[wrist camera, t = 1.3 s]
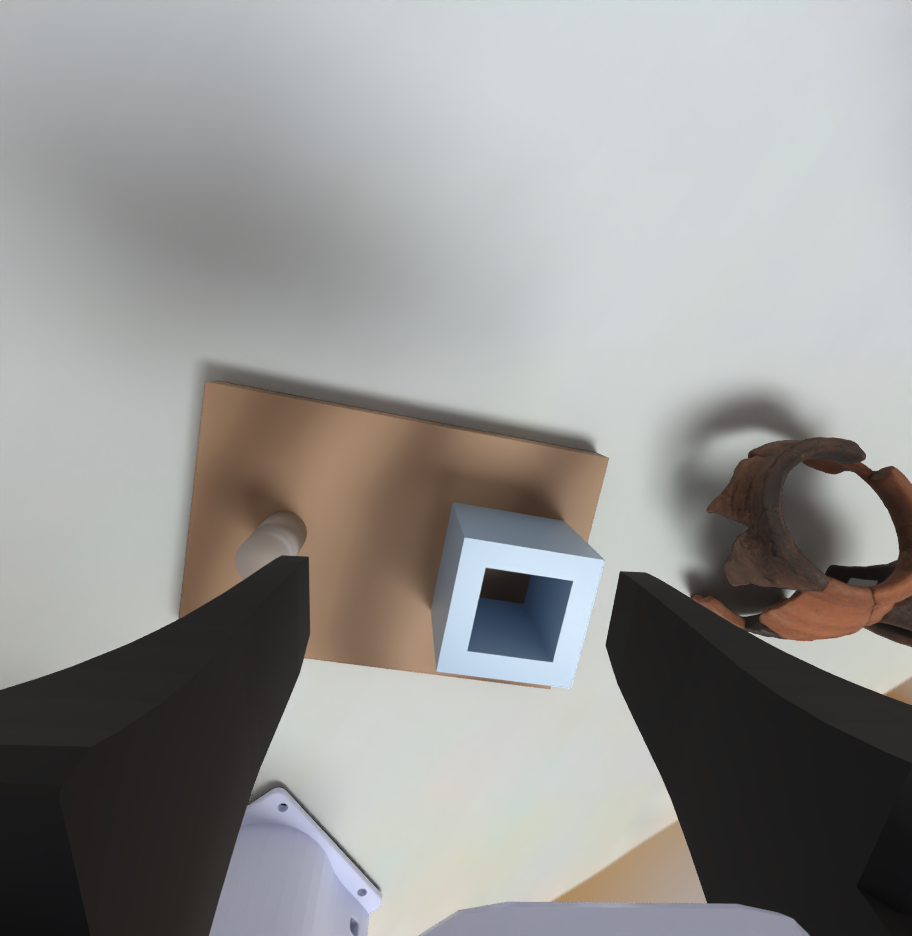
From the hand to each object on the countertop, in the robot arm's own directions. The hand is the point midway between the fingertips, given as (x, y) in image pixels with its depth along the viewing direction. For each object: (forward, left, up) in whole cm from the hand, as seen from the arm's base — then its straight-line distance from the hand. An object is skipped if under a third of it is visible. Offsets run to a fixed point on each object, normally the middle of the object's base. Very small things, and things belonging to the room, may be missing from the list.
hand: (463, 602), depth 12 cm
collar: (-5, 0, -12) cm, 13 cm away
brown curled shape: (-13, -13, -13) cm, 23 cm away
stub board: (-1, +3, -13) cm, 14 cm away
